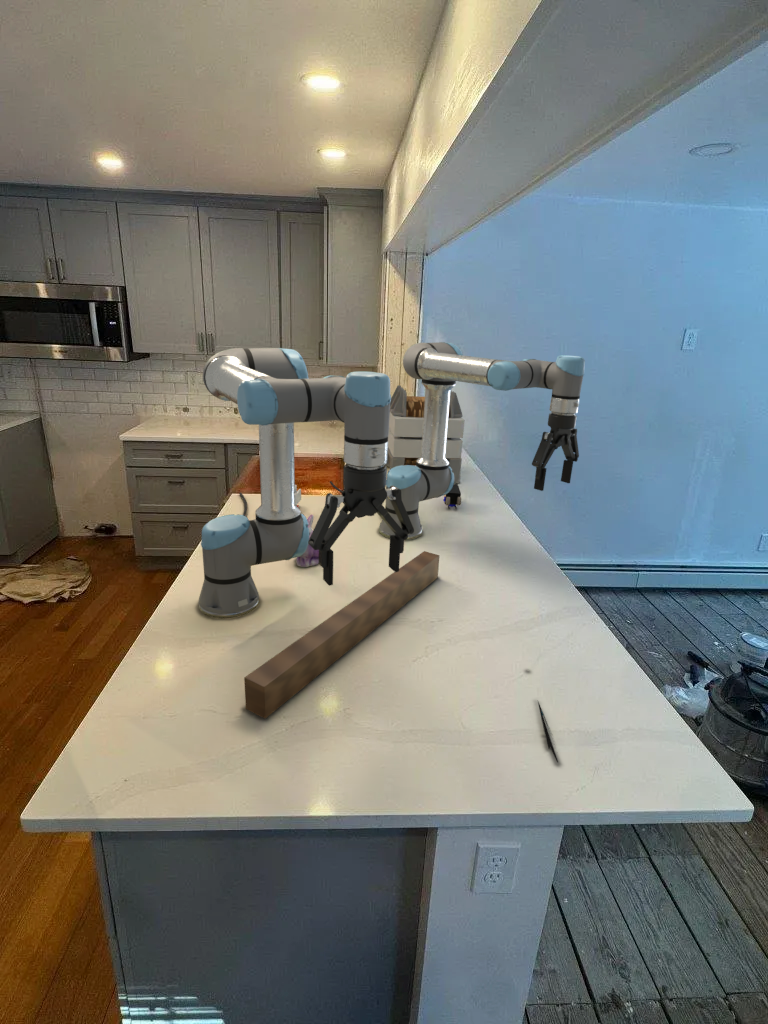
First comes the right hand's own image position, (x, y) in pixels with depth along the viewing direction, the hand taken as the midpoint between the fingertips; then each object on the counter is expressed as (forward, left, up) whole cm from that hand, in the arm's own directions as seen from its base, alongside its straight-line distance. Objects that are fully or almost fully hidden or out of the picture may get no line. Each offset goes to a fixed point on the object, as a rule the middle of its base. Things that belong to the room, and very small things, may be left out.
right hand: (552, 485), depth 166 cm
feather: (+39, -55, -28) cm, 73 cm away
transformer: (-101, +46, -28) cm, 115 cm away
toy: (-86, -39, -28) cm, 99 cm away
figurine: (-47, -53, -28) cm, 77 cm away
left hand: (+14, -82, 0) cm, 83 cm away
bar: (-7, -65, -28) cm, 71 cm away
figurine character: (-59, +24, -28) cm, 70 cm away
